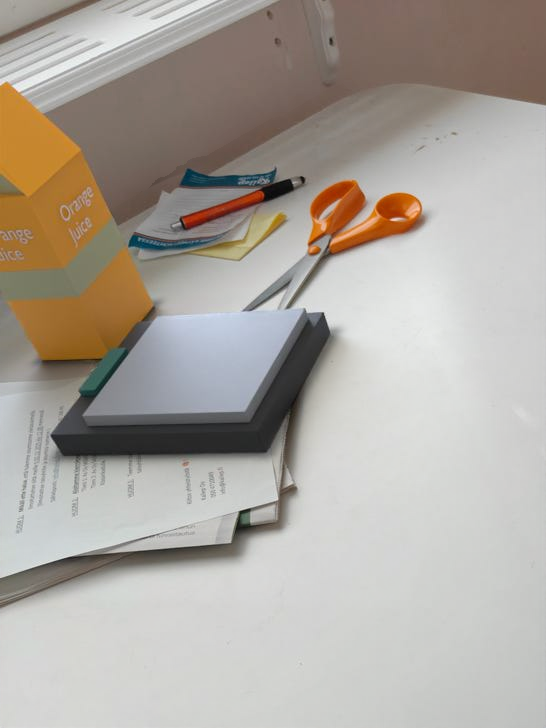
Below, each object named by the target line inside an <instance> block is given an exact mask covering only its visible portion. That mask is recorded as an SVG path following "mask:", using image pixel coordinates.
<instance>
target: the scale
mask: <svg viewBox="0 0 546 728" xmlns="http://www.w3.org/2000/svg"><path fill="white" fill-rule="evenodd" d="M330 335H331V330H330V327H329V323H328V321H327V318H326V314H325V312H324V311H315V312H308V311H307V309H306V308H305V307H301V308H300V307H297V308H284V309H283V308H280V309H268V310H267V309H265V310H250V311H249V310H248V311H247V310H246V311H230V312H214V313H213V312H212V313H211V312H210V313H196V314H195V313H194V314H177V315H161V316H155V318H154V319H153V321H141V322H137V323H136V324H135V325H134V327H133V328H132V329H131V331H130V332H129V333H128V334H127V336H126V337H125V338H124V340H123V341H122V342H121V343H120V345H119V346H118V347H117V348H111V349H110V350H109V351H108V352H107V354H106V355H105V356H104V358H103V359H101V360H100V362H99V363H98V364H97V365H96V366H95V367H94V369H93V370H92V371H91V373H90V374H89V375H88V376H87V378H86V379H85V381H84V382H83V383H82V384H81V386H80V387H79V388H78V390H77V391H78V393H79V396H78V398H76V400H75V402H74V403H73V404H72V405H71V407H70V408H69V409H68V411H67V413H65V414H64V416H63V417H62V419H61V420H60V421H59V422H58V424H57V425H56V426H55V427H54V429H53V430H52V432H51V433H50V434H49V436H50V438H51V440H52V441H53V443H54V445H55V446H56V447H57V449H58V451H59V452H60V454H61V455H62V456H84V455H85V456H87V455H88V456H89V455H91V456H94V455H95V456H97V455H98V456H99V455H100V456H101V455H159V454H162V455H164V454H165V455H167V454H172V455H173V454H175V455H176V454H230V453H231V454H236V453H237V454H238V453H239V454H240V453H241V454H242V453H243V454H245V453H246V454H247V453H248V454H249V453H267V452H268V450H269V448H270V446H271V445H272V442H273V441H274V439H275V437H276V435H277V434H278V432H279V430H280V428H281V425H282V424H283V422H284V420H285V419H286V417H287V414H288V413H289V411H290V409H291V408H292V405H293V403H294V401H295V400H296V399H297V396H298V394H299V393H300V391H301V388H302V387H303V385H304V383H305V381H306V379H307V378H308V375H309V374H310V372H311V370H312V368H313V366H314V364H315V363H316V361H317V359H318V357H319V355H320V354H321V351H322V349H323V348H324V346H325V344H326V342H327V341H328V338H329V337H330Z"/></svg>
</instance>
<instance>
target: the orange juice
mask: <svg viewBox="0 0 546 728" xmlns="http://www.w3.org/2000/svg"><path fill="white" fill-rule="evenodd" d="M0 294H1V295H2V297H3V299H4V301H6V302H7V304H8V306H9V307H10V310H11V311H12V313H13V314H14V316H15V318H16V320H17V321H18V323H19V324H20V326H21V328H22V329H23V331H24V333H25V336H26V337H27V339H28V340H29V341H30V343H31V345H32V346H33V349H34V350H35V351H36V353H37V355H38V356H39V357H38V358H40V360H41V361H67V360H98V359H101V360H102V359H103V358H104V356H105V355H106V354H107V352H108V351H109V350H110V349H111V348H117V347H118V346H119V345H120V343H121V342H122V341H123V340H124V338H125V337H126V336H127V334H128V333H129V332H130V331H131V329H132V328H133V327H134V325H135V324H136V323H137V322H143V320H144V318H145V317H146V316H147V315H148V313H149V312H150V311H151V310H152V309H153V307H155V306H154V302H153V301H152V298H151V296H150V294H149V292H148V290H147V288H146V286H145V284H144V282H143V280H142V277H141V275H140V273H139V271H138V269H137V266H136V264H135V262H134V261H133V258H132V256H131V254H130V252H129V250H128V247H127V244H126V241H125V240H124V237H123V235H122V233H121V231H120V229H119V226H118V224H117V223H116V221H115V218H114V217H113V216H112V214H111V211H110V209H109V206H108V205H107V202H106V201H105V198H104V197H103V194H102V191H101V190H100V188H99V186H98V184H97V181H96V179H95V177H94V175H93V173H92V170H91V169H90V167H89V164H88V162H87V160H86V158H85V156H84V154H83V152H82V148H81V147H80V146H78V144H76V143H75V142H74V141H73V140H72V139H71V138H70V137H69V136H68V135H66V134H65V132H63V131H62V130H61V129H60V128H59V127H58V126H56V124H54V123H53V122H52V121H51V120H50V119H49V118H48V117H47V116H45V114H43V113H42V112H41V111H40V110H39V109H38V108H37V107H36V106H34V104H33V103H31V102H30V101H29V100H28V99H27V98H26V97H25V96H24V95H23V94H21V93H20V92H19V91H18V90H17V89H16V88H15V87H14V86H12V85H11V83H10V82H8V81H7V80H5V82H4V83H2V84H0Z"/></svg>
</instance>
